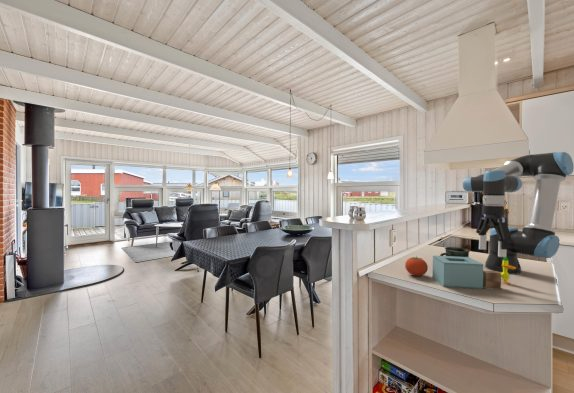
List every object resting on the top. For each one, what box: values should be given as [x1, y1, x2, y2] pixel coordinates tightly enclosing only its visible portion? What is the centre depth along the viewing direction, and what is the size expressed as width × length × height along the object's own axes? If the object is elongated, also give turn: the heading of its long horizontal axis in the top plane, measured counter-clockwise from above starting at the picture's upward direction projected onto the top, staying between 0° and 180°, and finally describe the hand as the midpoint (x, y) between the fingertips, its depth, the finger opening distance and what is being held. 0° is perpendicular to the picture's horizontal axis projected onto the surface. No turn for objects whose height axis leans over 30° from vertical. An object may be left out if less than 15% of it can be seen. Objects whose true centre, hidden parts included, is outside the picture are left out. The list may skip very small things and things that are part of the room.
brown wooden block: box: [483, 270, 502, 290], centre depth 114 cm, size 6×3×7 cm, turn 81°
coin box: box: [431, 255, 484, 290], centre depth 119 cm, size 16×12×11 cm
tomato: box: [404, 255, 429, 277], centre depth 129 cm, size 10×10×10 cm
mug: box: [439, 246, 470, 258], centre depth 136 cm, size 11×15×12 cm
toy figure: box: [498, 258, 516, 285], centre depth 119 cm, size 7×4×12 cm, turn 18°
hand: (491, 252), depth 114 cm, fingers open, 13 cm apart
